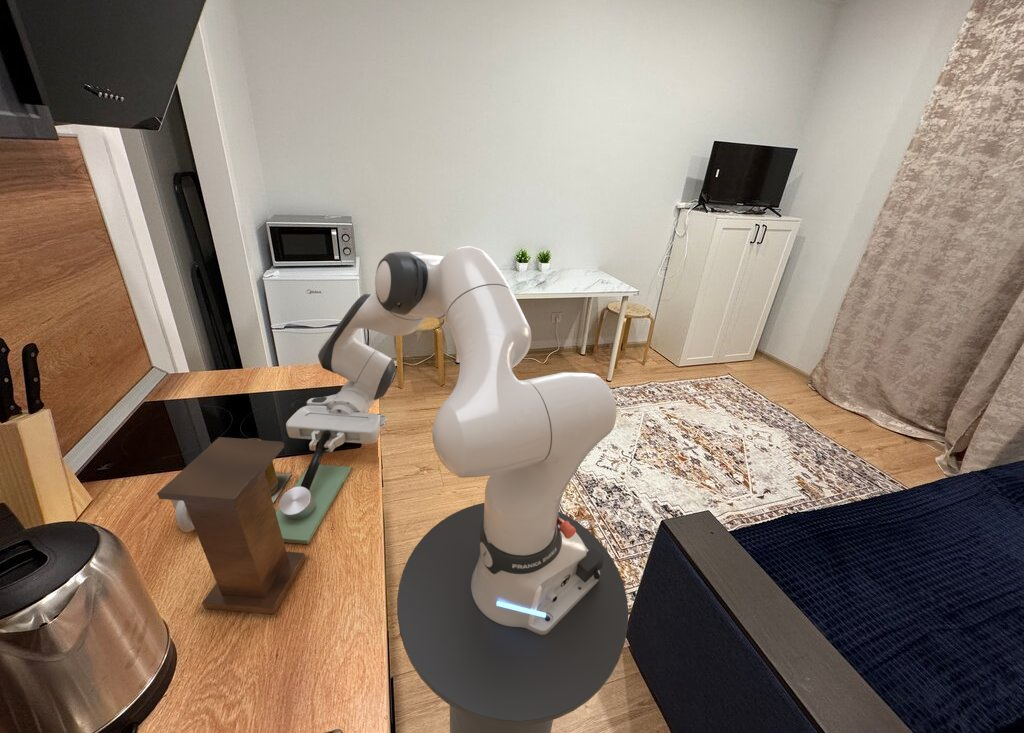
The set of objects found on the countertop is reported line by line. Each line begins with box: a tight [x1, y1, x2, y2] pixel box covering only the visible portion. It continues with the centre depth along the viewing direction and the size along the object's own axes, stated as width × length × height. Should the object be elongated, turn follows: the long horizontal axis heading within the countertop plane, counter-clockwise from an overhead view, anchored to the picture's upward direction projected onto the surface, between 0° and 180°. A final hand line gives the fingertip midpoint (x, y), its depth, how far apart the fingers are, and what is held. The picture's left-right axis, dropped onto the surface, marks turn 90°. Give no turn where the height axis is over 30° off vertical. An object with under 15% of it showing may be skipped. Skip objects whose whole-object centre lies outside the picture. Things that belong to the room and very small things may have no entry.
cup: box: [170, 500, 195, 533], centre depth 77 cm, size 7×10×9 cm
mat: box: [275, 464, 352, 545], centre depth 84 cm, size 20×9×1 cm, turn 178°
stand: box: [156, 436, 306, 615], centre depth 64 cm, size 12×11×24 cm
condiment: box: [249, 437, 292, 504], centre depth 84 cm, size 7×8×12 cm
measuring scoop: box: [278, 430, 331, 520], centre depth 84 cm, size 19×6×3 cm, turn 178°
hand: (320, 448), depth 88 cm, fingers closed on measuring scoop, 2 cm apart
